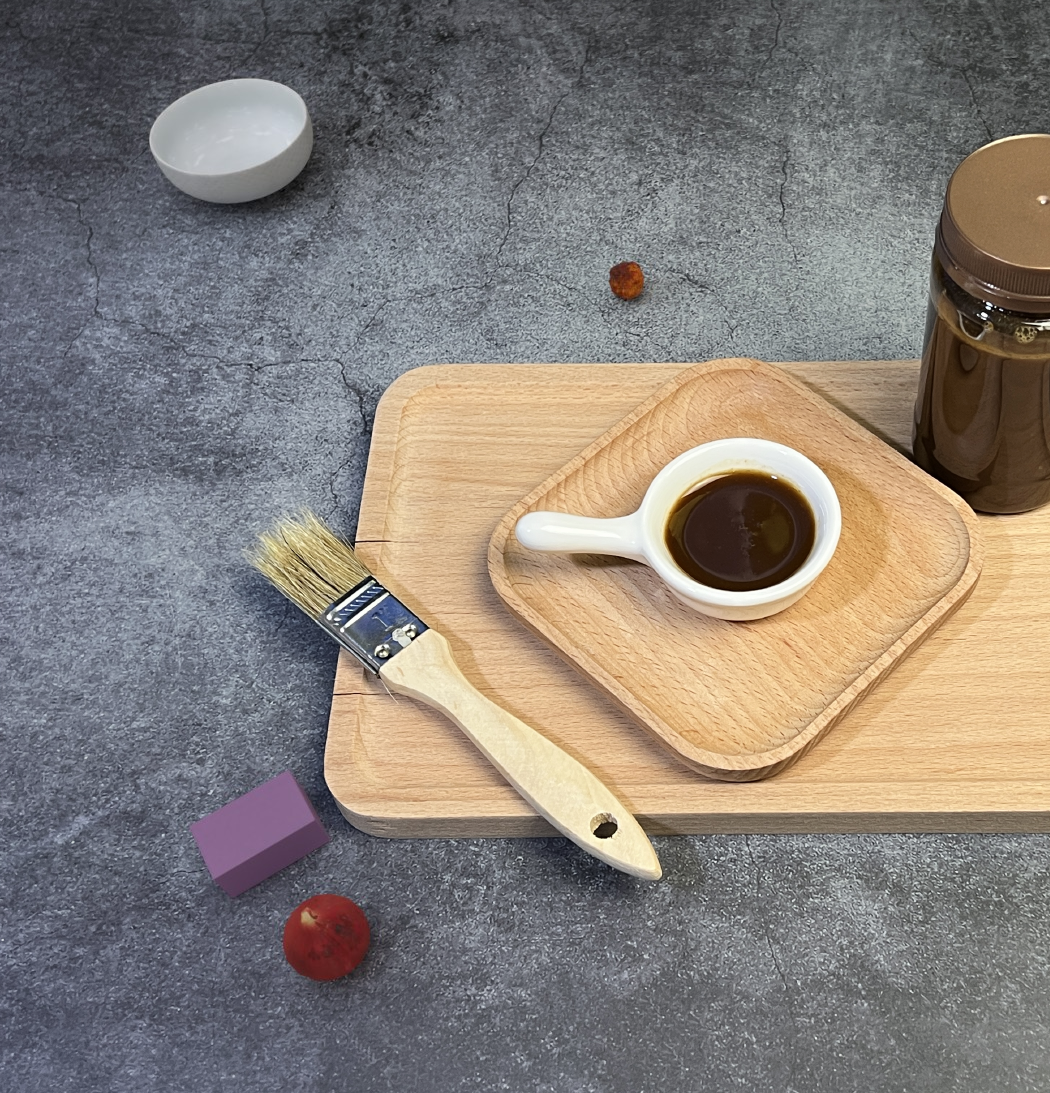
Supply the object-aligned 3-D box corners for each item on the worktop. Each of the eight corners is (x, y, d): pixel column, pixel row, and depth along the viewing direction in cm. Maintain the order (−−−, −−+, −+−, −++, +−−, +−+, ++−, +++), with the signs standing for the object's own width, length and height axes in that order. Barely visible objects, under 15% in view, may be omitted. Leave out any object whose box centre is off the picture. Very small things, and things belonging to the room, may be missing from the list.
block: (208, 846, 99) (188, 826, 96) (305, 790, 101) (288, 768, 98) (232, 899, 97) (213, 879, 93) (331, 840, 99) (315, 819, 96)
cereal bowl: (356, 153, 146) (338, 99, 140) (262, 245, 138) (238, 193, 132) (240, 113, 151) (217, 60, 145) (141, 200, 143) (114, 147, 137)
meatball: (640, 279, 132) (636, 249, 129) (650, 302, 130) (646, 273, 127) (606, 288, 132) (601, 258, 129) (616, 311, 130) (611, 282, 127)
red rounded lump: (395, 927, 95) (365, 889, 88) (359, 1004, 92) (326, 970, 85) (324, 904, 96) (290, 865, 89) (287, 980, 93) (248, 944, 86)
